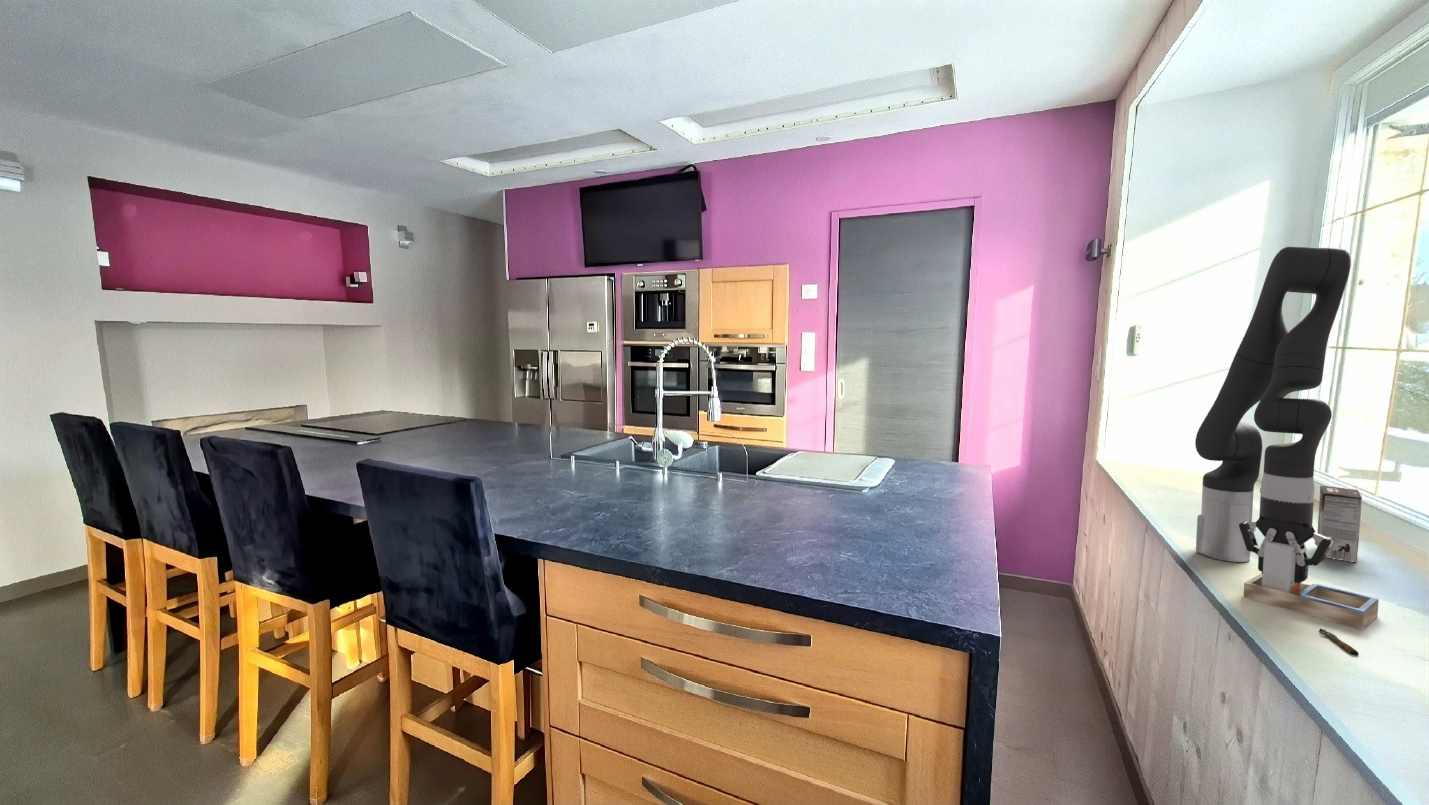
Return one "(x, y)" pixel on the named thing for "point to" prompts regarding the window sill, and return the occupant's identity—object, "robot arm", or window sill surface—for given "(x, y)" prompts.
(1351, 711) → the window sill surface
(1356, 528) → the coffee box
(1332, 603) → the organiser
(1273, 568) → the skincare box
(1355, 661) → the window sill surface
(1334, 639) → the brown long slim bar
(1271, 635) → the window sill surface
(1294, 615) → the window sill surface
